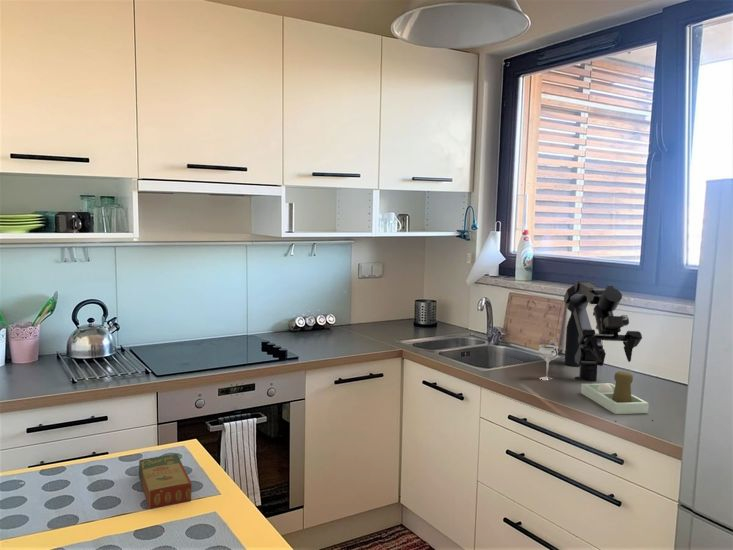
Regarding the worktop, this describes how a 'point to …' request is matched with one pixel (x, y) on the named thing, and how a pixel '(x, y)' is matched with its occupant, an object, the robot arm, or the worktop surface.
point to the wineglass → (548, 355)
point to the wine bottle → (571, 342)
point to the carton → (164, 481)
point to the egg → (605, 388)
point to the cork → (622, 387)
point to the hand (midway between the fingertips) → (614, 360)
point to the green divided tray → (608, 403)
